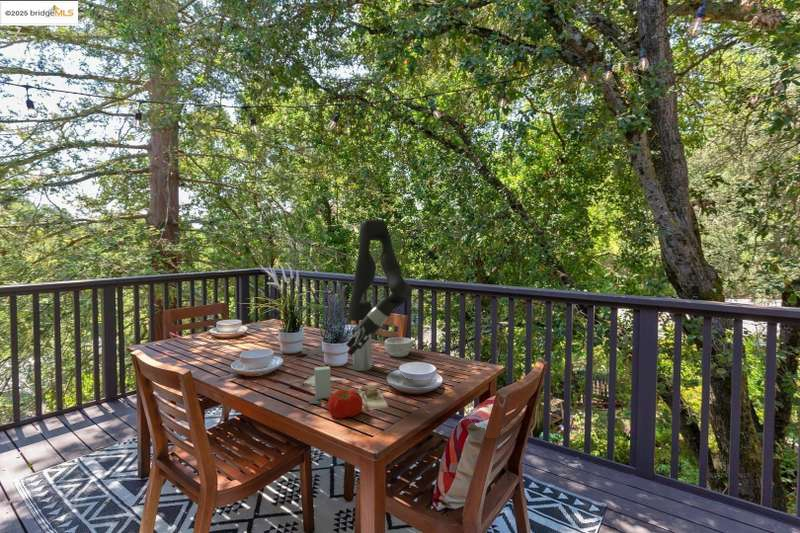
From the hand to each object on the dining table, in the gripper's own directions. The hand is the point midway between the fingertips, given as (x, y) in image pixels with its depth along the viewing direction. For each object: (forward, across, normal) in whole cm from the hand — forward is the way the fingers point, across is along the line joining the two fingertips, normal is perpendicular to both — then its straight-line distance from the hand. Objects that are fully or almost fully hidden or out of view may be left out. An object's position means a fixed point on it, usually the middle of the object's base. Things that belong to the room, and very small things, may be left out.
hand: (348, 349), depth 170 cm
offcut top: (+6, +5, +17) cm, 19 cm away
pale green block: (+21, +3, +4) cm, 21 cm away
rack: (+8, +10, +18) cm, 23 cm away
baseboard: (+18, -10, +10) cm, 23 cm away
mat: (+21, +3, +4) cm, 22 cm away
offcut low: (+8, +5, +18) cm, 20 cm away
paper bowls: (-2, -49, +37) cm, 62 cm away
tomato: (+15, +21, +9) cm, 27 cm away
